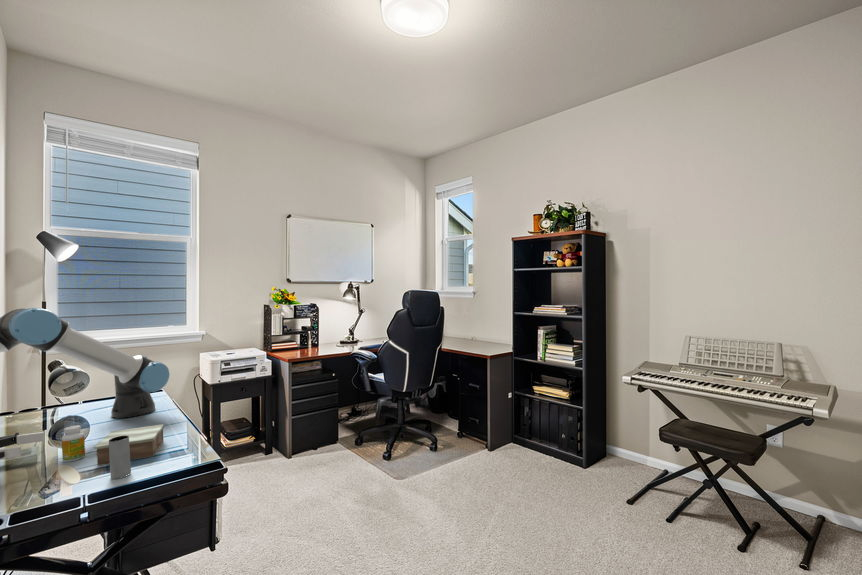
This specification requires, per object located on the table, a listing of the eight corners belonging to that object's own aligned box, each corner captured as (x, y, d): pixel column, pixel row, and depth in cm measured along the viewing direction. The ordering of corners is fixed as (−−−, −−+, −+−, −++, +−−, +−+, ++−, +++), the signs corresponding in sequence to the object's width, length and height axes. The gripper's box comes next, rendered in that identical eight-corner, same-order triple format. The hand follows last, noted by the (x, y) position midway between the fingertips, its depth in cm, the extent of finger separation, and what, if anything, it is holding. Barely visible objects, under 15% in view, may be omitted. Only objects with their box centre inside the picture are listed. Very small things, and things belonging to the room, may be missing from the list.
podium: (112, 448, 140) (111, 431, 140) (165, 440, 146) (164, 424, 145) (95, 466, 126) (94, 446, 126) (154, 456, 132) (153, 438, 132)
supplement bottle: (70, 463, 130) (68, 430, 130) (58, 461, 132) (56, 429, 131) (89, 456, 135) (87, 424, 135) (78, 454, 137) (76, 423, 137)
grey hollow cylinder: (128, 477, 118) (125, 439, 117) (108, 480, 116) (105, 442, 116) (133, 470, 122) (131, 434, 122) (114, 473, 120) (111, 436, 120)
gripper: (-33, 454, 134) (52, 442, 141) (-97, 488, 111) (10, 472, 118) (-34, 429, 134) (51, 419, 141) (-98, 459, 110) (8, 444, 118)
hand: (32, 443), depth 130 cm, fingers open, 13 cm apart
